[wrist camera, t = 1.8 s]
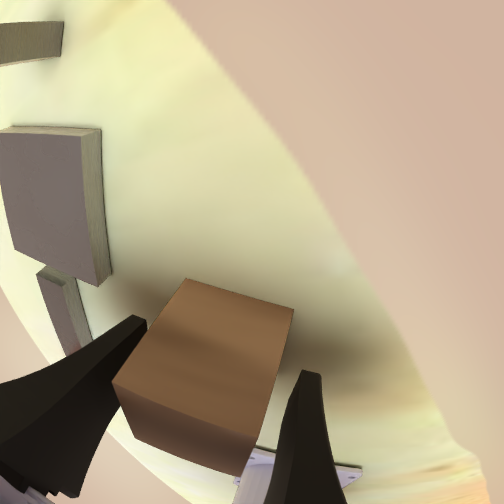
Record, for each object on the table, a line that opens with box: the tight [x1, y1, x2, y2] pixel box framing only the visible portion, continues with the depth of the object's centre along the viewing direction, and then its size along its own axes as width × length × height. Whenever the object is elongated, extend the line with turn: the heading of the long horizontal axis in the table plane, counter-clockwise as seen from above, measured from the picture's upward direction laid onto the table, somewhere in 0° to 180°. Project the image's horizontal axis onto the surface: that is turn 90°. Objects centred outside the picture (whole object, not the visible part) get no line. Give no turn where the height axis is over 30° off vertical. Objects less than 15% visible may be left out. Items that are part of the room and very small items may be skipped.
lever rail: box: [36, 265, 93, 357], centre depth 16 cm, size 12×2×1 cm, turn 172°
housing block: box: [112, 278, 294, 478], centre depth 10 cm, size 4×4×5 cm
